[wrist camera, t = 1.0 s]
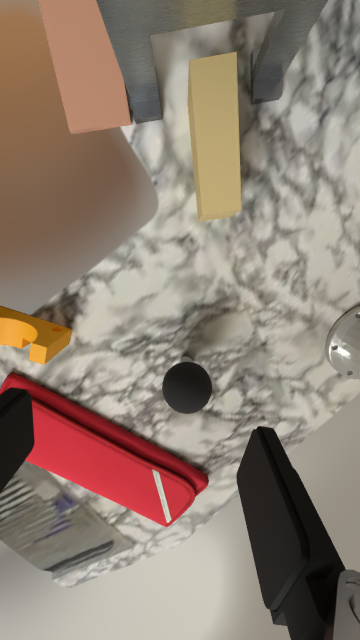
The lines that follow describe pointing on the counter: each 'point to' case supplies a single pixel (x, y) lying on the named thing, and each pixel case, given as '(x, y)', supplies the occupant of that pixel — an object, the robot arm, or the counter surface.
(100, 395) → the counter surface
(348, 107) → the counter surface
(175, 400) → the black rubber blower bulb
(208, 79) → the tan rectangular block
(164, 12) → the grey u-shaped piece
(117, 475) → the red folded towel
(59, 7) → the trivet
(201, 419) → the counter surface
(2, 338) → the pipe clamp
